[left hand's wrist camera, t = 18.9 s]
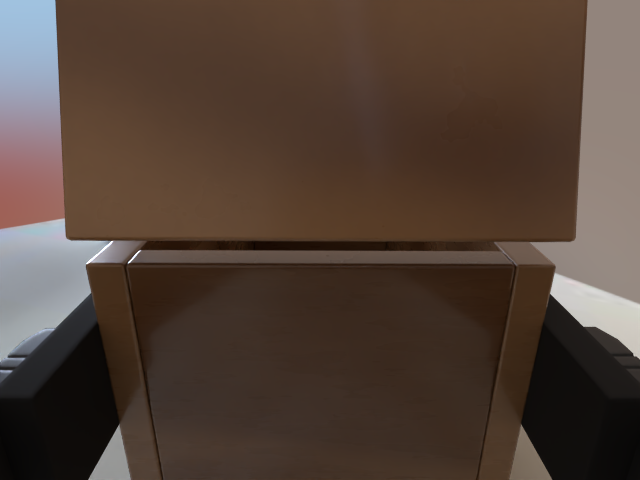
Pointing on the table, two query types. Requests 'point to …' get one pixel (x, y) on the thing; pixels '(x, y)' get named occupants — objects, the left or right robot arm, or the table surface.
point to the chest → (320, 356)
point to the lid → (321, 119)
